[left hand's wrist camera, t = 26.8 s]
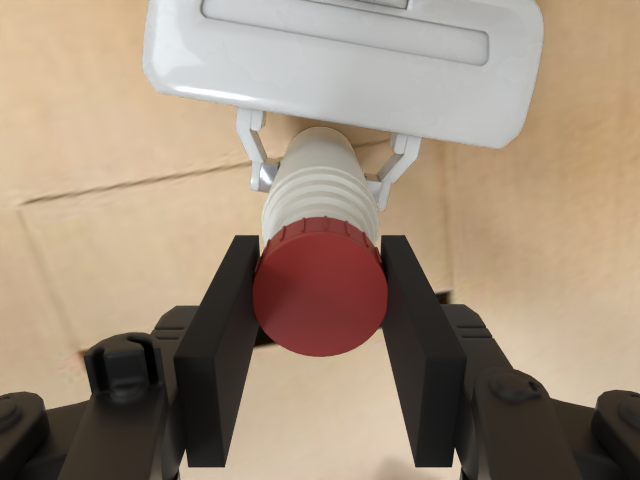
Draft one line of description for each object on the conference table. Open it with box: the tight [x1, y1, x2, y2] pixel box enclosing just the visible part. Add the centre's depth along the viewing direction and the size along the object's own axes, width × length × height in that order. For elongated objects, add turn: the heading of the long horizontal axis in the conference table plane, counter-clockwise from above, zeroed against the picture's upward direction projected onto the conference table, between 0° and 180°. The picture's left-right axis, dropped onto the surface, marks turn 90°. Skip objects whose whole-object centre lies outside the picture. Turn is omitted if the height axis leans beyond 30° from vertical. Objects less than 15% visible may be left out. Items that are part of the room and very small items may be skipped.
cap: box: [252, 216, 388, 357], centre depth 14 cm, size 4×4×2 cm
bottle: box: [261, 126, 379, 247], centre depth 23 cm, size 5×5×20 cm
